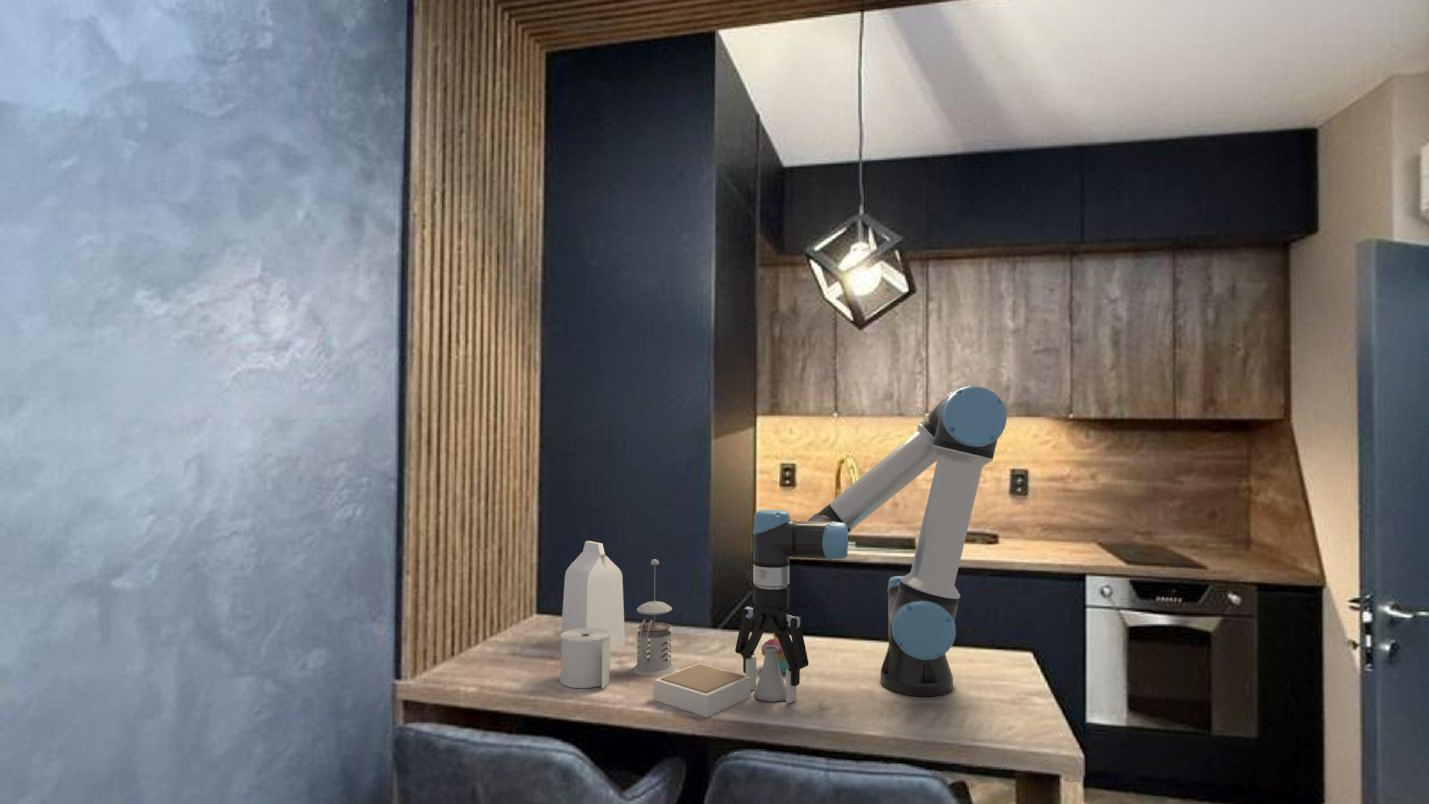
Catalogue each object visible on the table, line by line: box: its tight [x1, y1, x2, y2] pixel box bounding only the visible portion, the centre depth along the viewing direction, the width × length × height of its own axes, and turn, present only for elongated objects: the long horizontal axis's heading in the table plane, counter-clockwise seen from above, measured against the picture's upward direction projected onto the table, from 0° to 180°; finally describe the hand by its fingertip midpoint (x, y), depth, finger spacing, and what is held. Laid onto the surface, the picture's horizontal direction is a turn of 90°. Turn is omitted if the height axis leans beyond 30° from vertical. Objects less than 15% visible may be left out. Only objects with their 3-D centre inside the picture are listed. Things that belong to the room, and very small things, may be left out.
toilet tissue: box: [560, 628, 611, 689], centre depth 161 cm, size 11×12×10 cm
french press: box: [632, 558, 676, 677], centre depth 168 cm, size 10×12×25 cm
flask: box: [753, 645, 786, 702], centre depth 152 cm, size 7×7×10 cm
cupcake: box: [761, 633, 789, 674], centre depth 168 cm, size 9×8×12 cm
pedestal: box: [653, 663, 752, 718], centre depth 150 cm, size 14×14×4 cm
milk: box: [560, 540, 626, 651], centre depth 187 cm, size 12×12×26 cm
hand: (770, 695), depth 152 cm, fingers open, 9 cm apart
